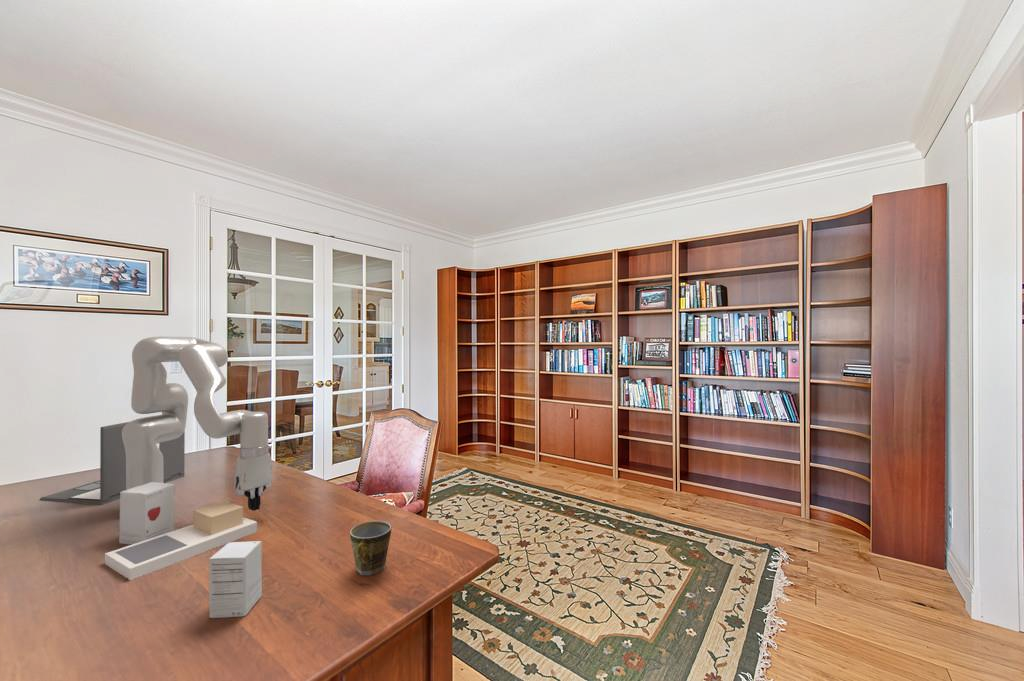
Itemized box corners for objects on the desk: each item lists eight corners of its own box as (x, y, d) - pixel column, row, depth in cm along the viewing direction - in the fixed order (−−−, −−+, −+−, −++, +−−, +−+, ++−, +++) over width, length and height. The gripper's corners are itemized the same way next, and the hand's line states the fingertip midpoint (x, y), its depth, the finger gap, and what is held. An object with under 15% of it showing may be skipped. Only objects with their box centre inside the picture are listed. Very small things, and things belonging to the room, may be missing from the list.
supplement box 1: (143, 547, 118) (143, 494, 118) (118, 544, 119) (118, 491, 119) (175, 533, 126) (175, 483, 127) (151, 530, 128) (151, 481, 128)
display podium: (104, 565, 108) (105, 553, 108) (229, 521, 135) (229, 512, 135) (130, 581, 101) (130, 568, 101) (257, 531, 127) (257, 521, 127)
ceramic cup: (359, 557, 112) (359, 520, 112) (396, 558, 112) (396, 520, 112) (337, 586, 99) (337, 543, 99) (379, 587, 99) (379, 544, 99)
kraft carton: (193, 527, 124) (193, 510, 124) (224, 516, 131) (224, 500, 131) (211, 535, 119) (211, 517, 119) (243, 523, 126) (243, 506, 126)
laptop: (131, 475, 181) (131, 410, 181) (185, 478, 178) (185, 411, 178) (39, 503, 150) (39, 424, 150) (102, 507, 146) (103, 427, 146)
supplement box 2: (228, 597, 95) (228, 541, 95) (263, 595, 95) (263, 540, 95) (207, 619, 87) (207, 558, 87) (245, 617, 88) (245, 556, 88)
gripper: (270, 444, 142) (270, 499, 142) (222, 455, 129) (222, 515, 129) (284, 447, 139) (284, 503, 139) (236, 458, 126) (235, 520, 126)
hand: (254, 509), depth 134 cm, fingers closed
